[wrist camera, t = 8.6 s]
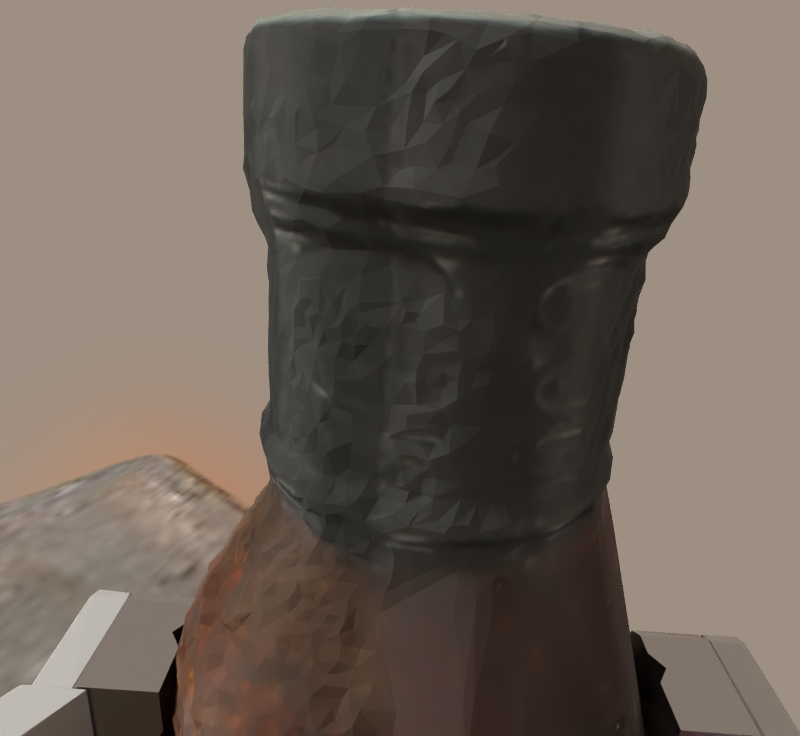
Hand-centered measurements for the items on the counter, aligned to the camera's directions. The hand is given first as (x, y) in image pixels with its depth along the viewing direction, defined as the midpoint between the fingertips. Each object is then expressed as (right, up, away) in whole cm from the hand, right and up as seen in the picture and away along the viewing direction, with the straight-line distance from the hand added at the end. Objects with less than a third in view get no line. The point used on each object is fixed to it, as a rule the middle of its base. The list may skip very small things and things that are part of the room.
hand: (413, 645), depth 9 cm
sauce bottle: (-1, -11, +4) cm, 12 cm away
